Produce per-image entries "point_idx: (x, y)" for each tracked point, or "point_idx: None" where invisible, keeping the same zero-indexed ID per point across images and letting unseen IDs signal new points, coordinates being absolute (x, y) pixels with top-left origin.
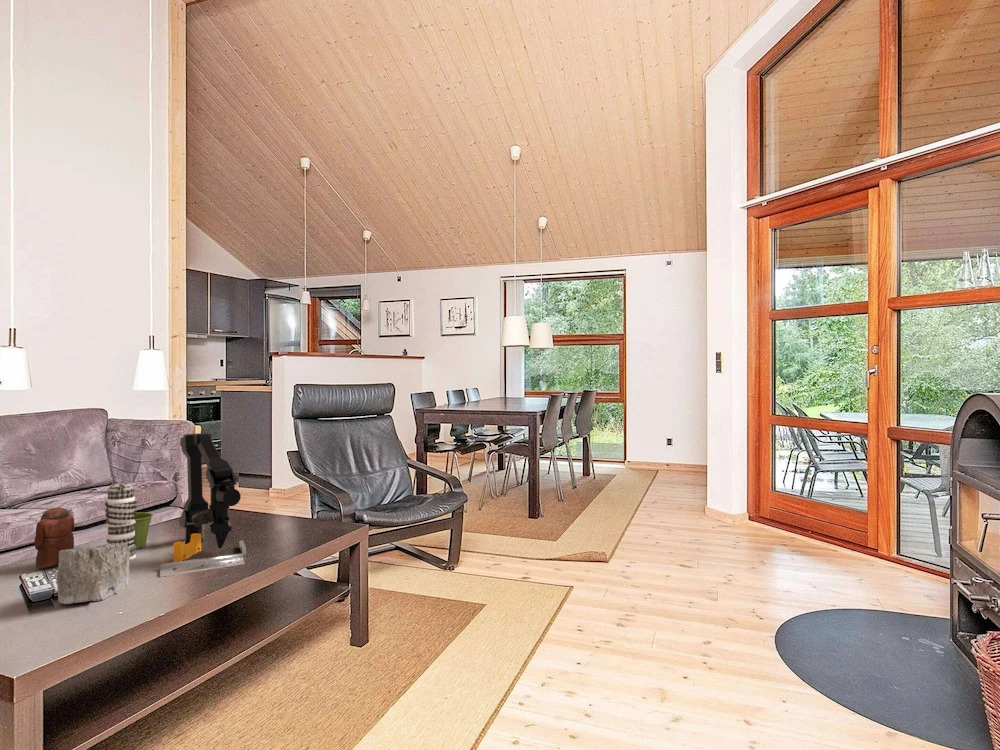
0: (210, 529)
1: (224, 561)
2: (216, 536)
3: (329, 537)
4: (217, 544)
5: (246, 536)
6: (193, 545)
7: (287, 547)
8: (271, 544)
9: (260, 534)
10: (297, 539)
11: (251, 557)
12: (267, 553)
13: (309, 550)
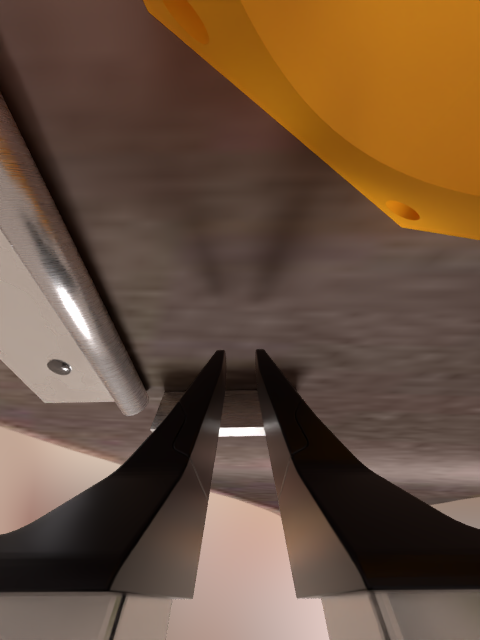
0: (57, 593)
1: (66, 347)
2: (148, 440)
3: (277, 502)
4: (258, 357)
5: (474, 411)
6: (430, 140)
7: (237, 465)
8: None
9: (449, 437)
10: None
11: None
12: None
13: None
